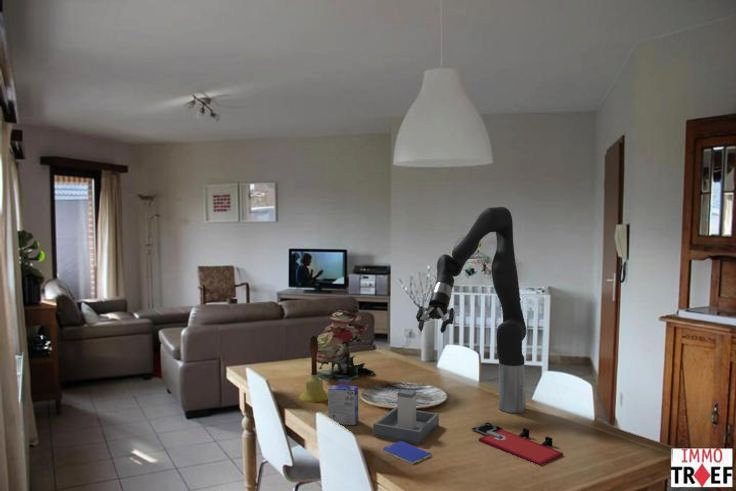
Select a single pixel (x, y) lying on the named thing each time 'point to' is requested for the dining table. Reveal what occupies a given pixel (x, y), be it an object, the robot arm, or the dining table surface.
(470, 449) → the dining table surface
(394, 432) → the tray
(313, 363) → the handbell
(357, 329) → the rose bouquet
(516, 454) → the red board with handle
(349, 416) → the ink cartridge box
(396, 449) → the hard drive
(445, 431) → the dining table surface
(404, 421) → the grey block
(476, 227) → the robot arm
